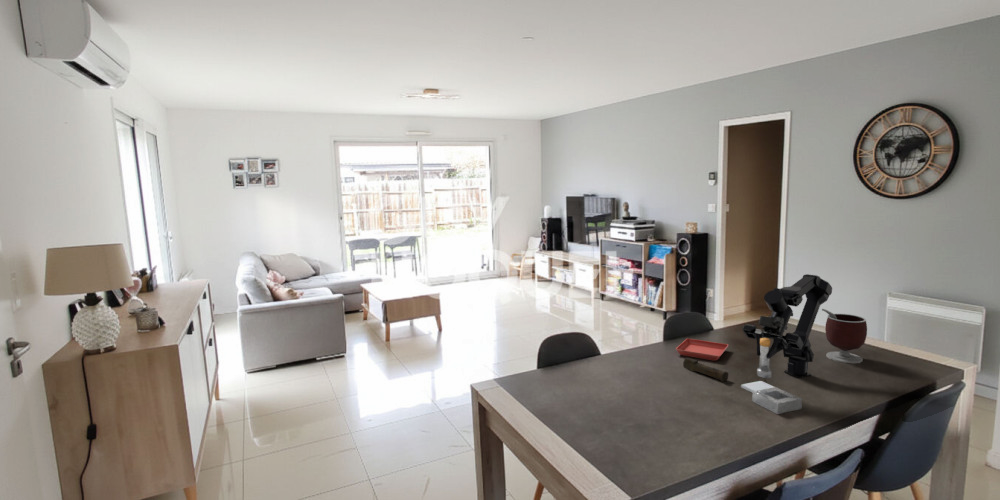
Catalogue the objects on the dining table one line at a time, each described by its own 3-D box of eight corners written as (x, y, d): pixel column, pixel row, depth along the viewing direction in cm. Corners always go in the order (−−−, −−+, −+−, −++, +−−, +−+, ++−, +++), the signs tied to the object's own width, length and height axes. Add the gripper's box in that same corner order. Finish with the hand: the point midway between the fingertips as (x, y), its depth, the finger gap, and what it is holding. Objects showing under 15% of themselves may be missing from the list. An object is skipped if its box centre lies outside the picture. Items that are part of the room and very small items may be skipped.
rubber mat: (760, 383, 180) (760, 380, 180) (781, 392, 172) (781, 390, 172) (741, 387, 177) (741, 384, 177) (761, 397, 169) (761, 394, 169)
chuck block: (775, 396, 169) (775, 386, 168) (801, 408, 159) (801, 398, 159) (752, 401, 166) (752, 391, 165) (777, 414, 156) (777, 403, 156)
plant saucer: (686, 344, 226) (686, 337, 226) (729, 351, 216) (729, 343, 215) (674, 356, 212) (675, 348, 211) (719, 364, 201) (720, 356, 201)
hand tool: (729, 381, 184) (729, 369, 183) (722, 383, 182) (722, 371, 181) (688, 366, 200) (688, 355, 200) (681, 367, 198) (681, 356, 198)
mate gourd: (863, 355, 204) (866, 308, 202) (866, 366, 193) (869, 316, 190) (819, 349, 213) (821, 304, 210) (819, 360, 201) (822, 312, 199)
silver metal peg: (766, 372, 174) (767, 337, 172) (774, 377, 169) (775, 340, 168) (754, 373, 173) (755, 337, 172) (762, 378, 169) (763, 341, 167)
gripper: (745, 302, 178) (728, 338, 173) (800, 311, 163) (783, 351, 158) (755, 319, 184) (739, 354, 179) (810, 329, 169) (794, 368, 164)
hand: (762, 356), depth 170 cm, fingers closed on silver metal peg, 3 cm apart
